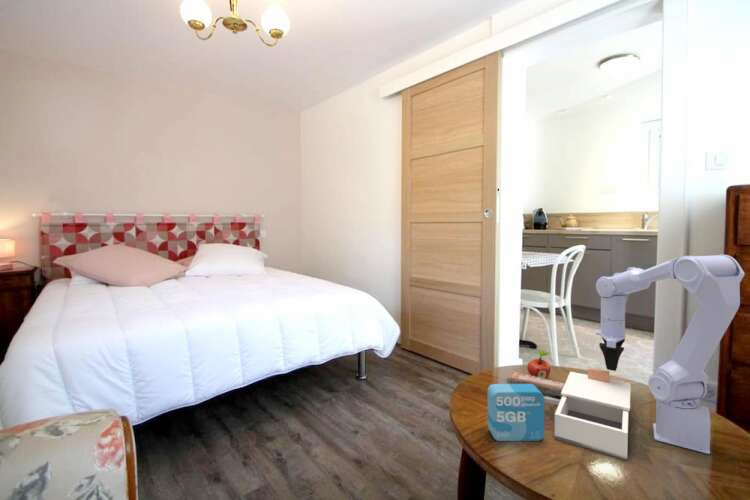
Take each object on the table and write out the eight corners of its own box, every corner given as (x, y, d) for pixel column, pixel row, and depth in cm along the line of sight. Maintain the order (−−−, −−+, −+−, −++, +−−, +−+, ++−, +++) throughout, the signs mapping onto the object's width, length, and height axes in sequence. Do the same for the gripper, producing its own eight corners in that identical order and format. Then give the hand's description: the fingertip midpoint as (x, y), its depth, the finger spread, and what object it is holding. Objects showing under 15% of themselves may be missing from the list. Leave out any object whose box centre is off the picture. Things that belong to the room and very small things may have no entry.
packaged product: (503, 378, 107) (512, 367, 115) (503, 393, 107) (512, 382, 115) (570, 392, 96) (574, 380, 104) (570, 410, 97) (574, 396, 105)
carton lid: (630, 385, 96) (630, 373, 96) (629, 411, 83) (630, 397, 82) (570, 373, 105) (570, 362, 104) (560, 395, 91) (560, 382, 91)
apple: (549, 387, 109) (549, 356, 109) (525, 383, 113) (525, 352, 112) (551, 378, 116) (551, 349, 115) (529, 374, 120) (529, 346, 119)
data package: (492, 441, 83) (492, 392, 82) (487, 430, 87) (487, 383, 86) (544, 441, 82) (544, 391, 81) (536, 430, 87) (536, 383, 86)
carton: (628, 426, 87) (628, 402, 87) (627, 460, 75) (627, 433, 74) (565, 410, 96) (565, 388, 95) (554, 438, 83) (554, 414, 83)
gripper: (598, 311, 107) (597, 355, 108) (593, 322, 95) (593, 370, 96) (626, 314, 103) (625, 359, 104) (625, 325, 91) (624, 376, 92)
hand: (612, 365), depth 100 cm, fingers open, 7 cm apart
